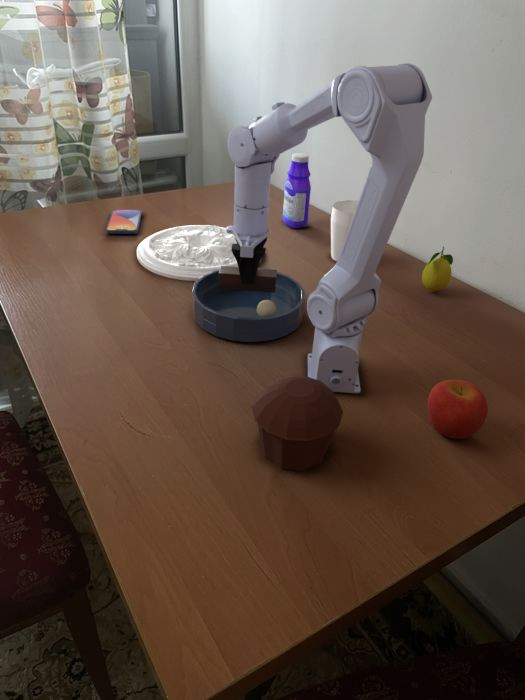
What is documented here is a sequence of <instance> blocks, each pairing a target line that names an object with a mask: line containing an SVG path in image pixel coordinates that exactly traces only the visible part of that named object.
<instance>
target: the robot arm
mask: <svg viewBox="0 0 525 700" xmlns="http://www.w3.org/2000/svg"><path fill="white" fill-rule="evenodd" d="M432 100H433V94H432V92H431V90H430V87H429V85H428V82H427V78H426V77H425V75H424V73H423V71H422V70H421V69H420V68H419V67H418V66H417V65H415V64H414V63H409V62H407V63H406V62H404V63H399V64H397V65H381V66H380V65H379V66H366V65H357V66H353V67H351V68H350V69H349V70H347V71H346V72H343V73H340V74H337V75H335V76H334V78H333V80H332V81H330V82H329V83H327V84H326V85H325V86H323V87H321V88H320V89H319V90H317V91H316V92H314V94H312V95H311V96H309V97H307V98H305V100H303V101H301V103H299V104H297V105H296V104H293V103H288V102H283V101H282V102H275V103H274V104H272V106H271V111H270V112H268V113H266V114H265V115H263V116H262V115H261V116H256V117H255V118H253V121H252V123H251V124H250V125H246V126H244V125H236V126H234V127H233V129H231V131H230V132H229V134H228V137H227V152H228V156H229V158H230V160H231V162H232V163H233V164H234V191H233V192H234V196H233V197H234V198H233V225H231V224H230V225H227V226H226V228H227V229H226V232H227V233H229V234H233V235H234V237H235V240H236V242H237V244H232V253H233V255H234V257H235V259H236V261H237V264H238V268H239V274H240V279H241V283H242V284H254V281H255V278H256V273H257V269H258V268H259V265H260V263H261V262H260V261H262V260H261V259H263V257H264V256H265V253H266V252H267V251H266V250H267V248H266V247H264V246H265V245H266V243H267V241H268V237H269V233H270V231H269V213H270V198H271V197H270V196H271V194H270V193H271V178H272V175H273V174H274V172H275V166H276V165H275V164H276V161H277V160H278V159H279V157H280V155H281V154H283V153H285V152H287V151H289V150H291V149H292V148H295V147H297V146H298V145H300V144H302V143H304V141H305V140H306V138H307V136H308V131H309V130H310V129H312V128H315V127H316V126H318V125H320V124H323V123H325V122H328V121H329V120H332V119H334V118H340V117H341V118H342V119H343V121H344V122H345V124H346V125H347V126H348V128H349V129H350V131H351V132H352V134H353V135H354V136H355V138H356V139H357V141H358V142H359V143H360V145H361V146H362V147H363V149H364V150H365V151H366V152H367V153H369V154H370V155H369V156H370V157H371V159H372V162H371V164H370V167H369V170H368V173H367V175H366V178H365V182H364V184H363V188H362V190H361V193H360V194H359V195H360V196H359V198H358V200H357V201H358V204H357V207H356V209H355V212H354V215H353V218H352V221H351V223H350V226H349V229H348V232H347V235H346V237H345V240H344V243H343V246H342V249H341V252H340V254H339V257H338V260H337V261H336V263H335V265H333V267H332V268H331V269H330V270H328V272H327V273H325V274H324V276H323V277H322V278H321V279H320V280H319V282H318V285H317V287H316V289H314V291H313V292H311V293H310V294H309V295H308V298H307V300H306V312H307V316H308V318H309V320H310V322H311V324H312V326H313V327H314V333H313V342H312V349H311V352H310V353H308V354H307V377H310V378H313V379H316V380H319V381H321V382H323V383H324V384H325V385H326V386H327V387H329V388H330V389H331V390H332V391H333V392H334V393H346V394H361V391H362V390H361V382H360V376H359V375H360V374H359V365H360V349H361V344H362V338H363V332H364V328H365V324H366V323H367V322H368V316H369V315H372V314H373V313H374V312H376V310H377V308H378V305H379V290H380V287H381V284H382V280H381V278H380V276H378V274H377V273H376V271H377V268H378V266H379V264H380V261H381V259H382V257H383V254H384V252H385V249H386V247H387V245H388V242H389V240H390V237H391V235H392V233H393V231H394V228H395V225H396V223H397V221H398V219H399V217H400V214H401V212H402V209H403V207H404V205H405V202H406V199H407V197H408V195H409V193H410V190H411V187H412V185H413V183H414V181H415V178H416V176H417V174H418V171H419V169H420V166H421V164H422V161H423V157H424V152H425V130H426V129H425V128H426V115H427V112H428V110H429V107H430V105H431V102H432Z"/></svg>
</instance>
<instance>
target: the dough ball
mask: <svg viewBox="0 0 525 700" xmlns="http://www.w3.org/2000/svg"><path fill="white" fill-rule="evenodd" d="M257 313H258V315H259V316H260V317H261V318H263V317H272V316H274V315H275V313H276V306H275V304H274V303H273V302H272V301H270V300H263V301H261V302H260V303H259V304H258V306H257Z"/></svg>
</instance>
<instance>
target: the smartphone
mask: <svg viewBox="0 0 525 700" xmlns="http://www.w3.org/2000/svg"><path fill="white" fill-rule="evenodd" d="M142 214H143V213H142V210H141V209H113V210H112V211H111V214H110V216H109V220H108V222H107V224H106V228H105V232H106V233H107V234H108V235H119V234H121V235H122V234H124V235H125V234H126V235H127V234H130V235H131V234H133V235H134V234H138V232H139V228H140V223H141V220H142V216H143V215H142Z"/></svg>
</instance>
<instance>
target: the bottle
mask: <svg viewBox="0 0 525 700" xmlns="http://www.w3.org/2000/svg"><path fill="white" fill-rule="evenodd" d="M309 158H310V155H309V154H307V153H302V152H301V153H300V152H297V153H292V155H291V161H290V166H289V169H288V170H287V178H286V180H285V182H284V194H283V207H282V221H283V223H284V224H285V225H286V226H287V227H289V228H292V229H300V228H301V229H302V228H305V227H306V226H307V225H308V222H309V211H310V202H311V190H312V186H311V185H312V184H311V181H310V177H311V172H310V169H309Z"/></svg>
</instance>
